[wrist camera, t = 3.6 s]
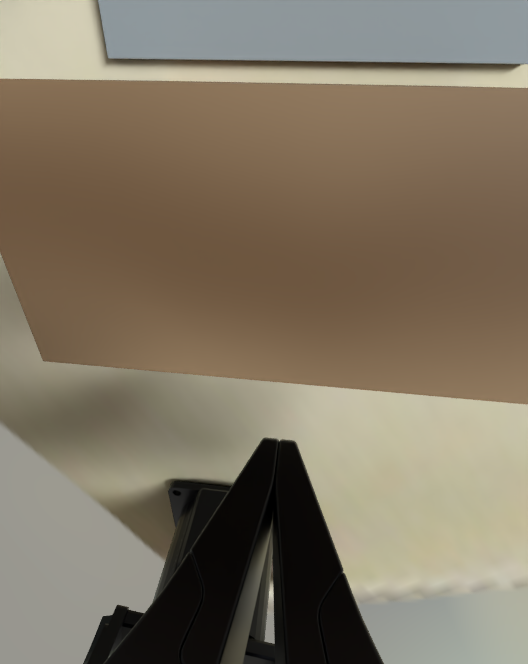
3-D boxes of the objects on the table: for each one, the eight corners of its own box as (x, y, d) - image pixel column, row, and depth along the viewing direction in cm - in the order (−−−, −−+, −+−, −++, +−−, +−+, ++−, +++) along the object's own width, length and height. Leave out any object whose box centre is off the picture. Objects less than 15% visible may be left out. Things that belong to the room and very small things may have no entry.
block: (419, 231, 12) (539, 405, 6) (182, 219, 13) (43, 361, 6) (456, 86, 10) (722, 92, 3) (167, 81, 11) (-69, 78, 4)
